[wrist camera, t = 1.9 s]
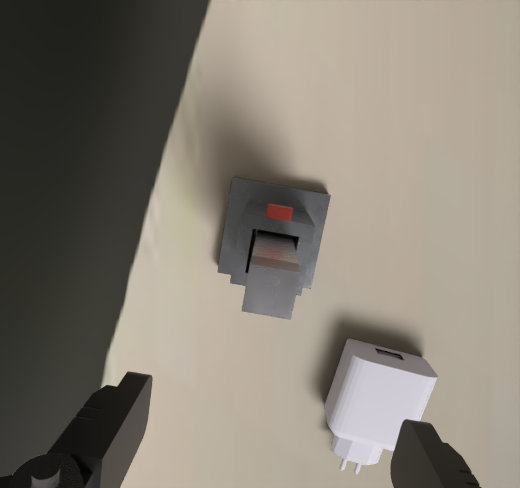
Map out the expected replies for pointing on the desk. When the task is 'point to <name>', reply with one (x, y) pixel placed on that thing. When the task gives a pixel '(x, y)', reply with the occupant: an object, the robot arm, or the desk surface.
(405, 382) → the charger
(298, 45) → the desk surface
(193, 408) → the desk surface
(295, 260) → the column
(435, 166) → the desk surface
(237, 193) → the stand
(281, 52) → the desk surface
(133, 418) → the robot arm
